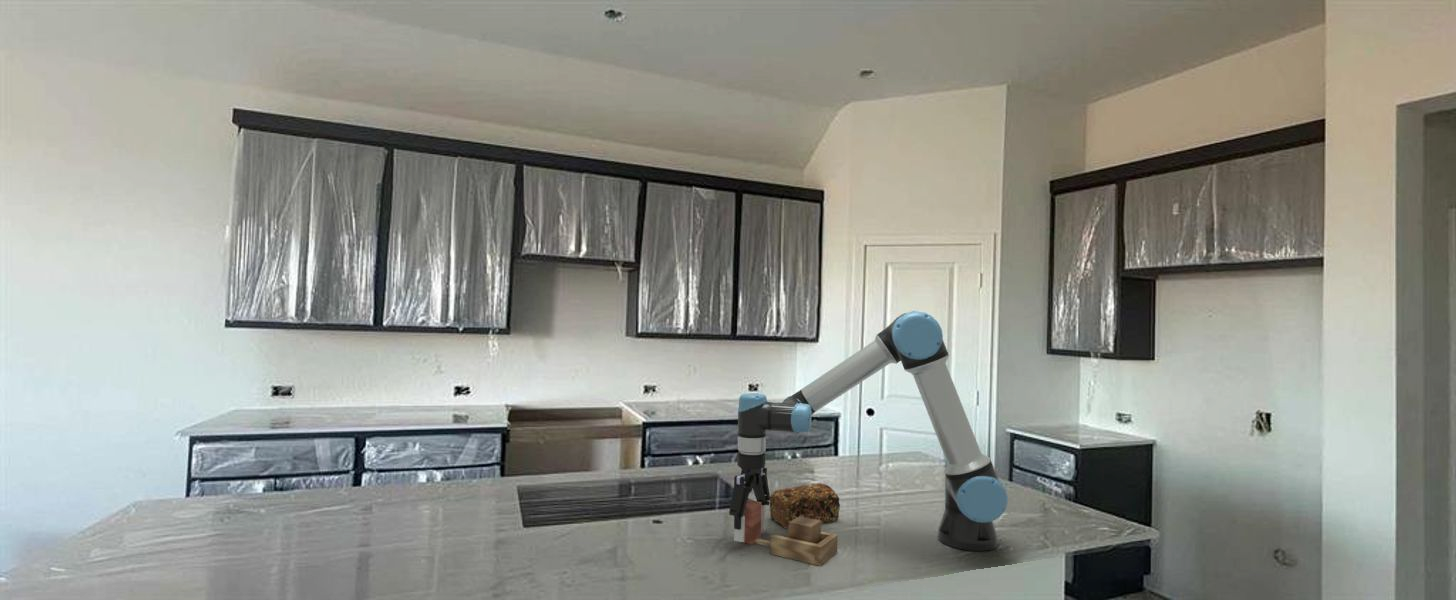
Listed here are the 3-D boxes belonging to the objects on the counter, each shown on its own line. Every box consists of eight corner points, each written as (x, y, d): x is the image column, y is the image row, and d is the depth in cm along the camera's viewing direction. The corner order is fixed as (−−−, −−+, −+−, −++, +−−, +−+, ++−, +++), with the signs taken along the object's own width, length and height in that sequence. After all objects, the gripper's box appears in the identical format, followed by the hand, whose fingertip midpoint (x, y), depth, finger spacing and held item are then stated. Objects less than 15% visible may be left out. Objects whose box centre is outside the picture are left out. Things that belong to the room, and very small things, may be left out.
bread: (821, 512, 196) (822, 479, 196) (841, 523, 186) (841, 488, 187) (767, 519, 189) (768, 485, 189) (785, 530, 179) (785, 494, 179)
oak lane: (837, 552, 162) (837, 534, 162) (820, 565, 153) (820, 547, 153) (789, 541, 169) (789, 524, 170) (770, 553, 160) (770, 536, 160)
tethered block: (820, 552, 162) (821, 512, 162) (810, 559, 157) (811, 518, 157) (748, 535, 173) (749, 498, 173) (737, 542, 168) (738, 504, 168)
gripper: (759, 443, 182) (758, 520, 181) (716, 457, 162) (714, 544, 162) (783, 446, 178) (782, 525, 178) (741, 461, 158) (740, 551, 158)
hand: (749, 534), depth 170 cm, fingers open, 11 cm apart
